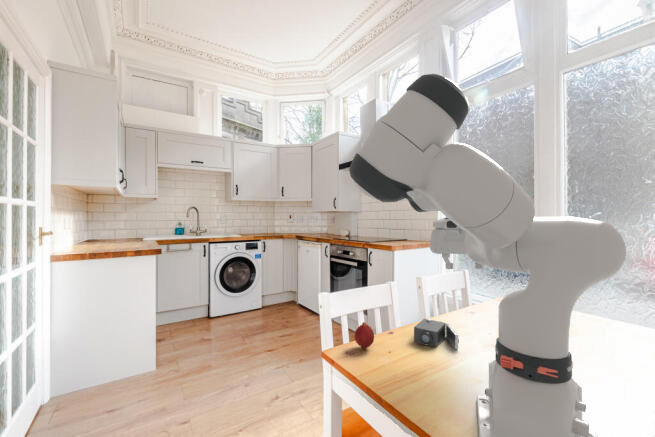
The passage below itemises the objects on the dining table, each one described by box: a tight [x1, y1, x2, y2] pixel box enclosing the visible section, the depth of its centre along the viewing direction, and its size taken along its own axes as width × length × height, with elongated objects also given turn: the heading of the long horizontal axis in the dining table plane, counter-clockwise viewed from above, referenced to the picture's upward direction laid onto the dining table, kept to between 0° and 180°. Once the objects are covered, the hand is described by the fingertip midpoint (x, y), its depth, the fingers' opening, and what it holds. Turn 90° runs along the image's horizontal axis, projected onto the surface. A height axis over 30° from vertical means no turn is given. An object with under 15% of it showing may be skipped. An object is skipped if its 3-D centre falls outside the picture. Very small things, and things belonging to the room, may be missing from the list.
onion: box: [354, 321, 375, 350], centre depth 87 cm, size 6×6×8 cm
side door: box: [445, 323, 460, 350], centre depth 91 cm, size 10×1×4 cm, turn 174°
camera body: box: [413, 318, 447, 348], centre depth 94 cm, size 12×7×5 cm, turn 144°
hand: (464, 268), depth 87 cm, fingers open, 8 cm apart
